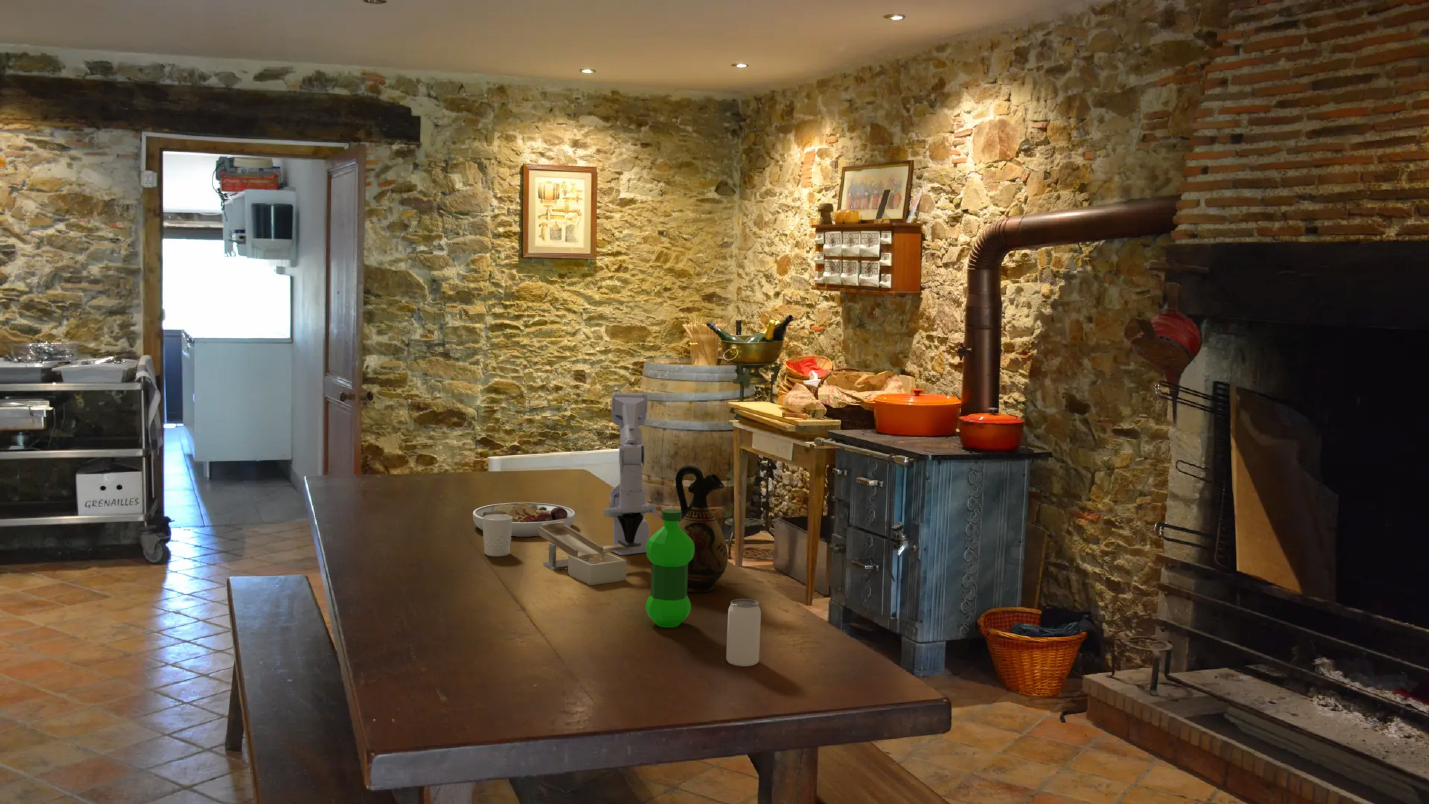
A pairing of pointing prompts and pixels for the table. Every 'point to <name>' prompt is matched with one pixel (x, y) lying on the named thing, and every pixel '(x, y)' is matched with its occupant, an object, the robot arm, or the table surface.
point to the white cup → (497, 534)
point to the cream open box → (598, 569)
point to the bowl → (526, 516)
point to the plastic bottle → (669, 571)
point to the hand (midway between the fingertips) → (629, 542)
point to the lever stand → (559, 563)
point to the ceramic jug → (702, 531)
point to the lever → (579, 541)
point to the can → (743, 633)
